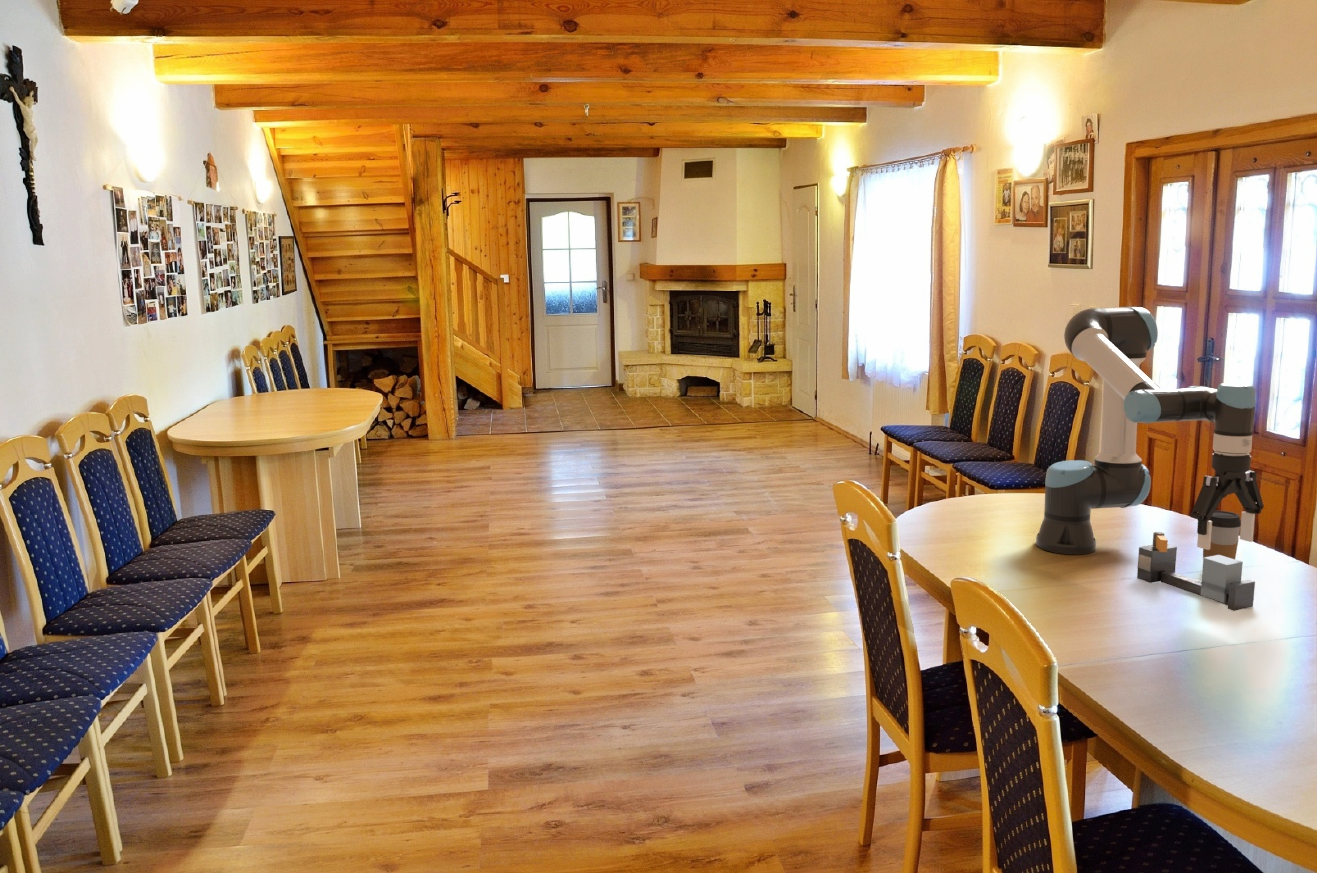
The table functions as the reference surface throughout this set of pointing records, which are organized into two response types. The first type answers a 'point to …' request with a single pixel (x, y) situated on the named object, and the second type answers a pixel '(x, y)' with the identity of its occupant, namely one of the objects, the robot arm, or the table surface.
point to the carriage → (1219, 576)
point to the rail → (1184, 583)
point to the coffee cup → (1224, 534)
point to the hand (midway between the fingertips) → (1225, 544)
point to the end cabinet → (1155, 562)
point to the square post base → (1241, 595)
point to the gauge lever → (1160, 541)
